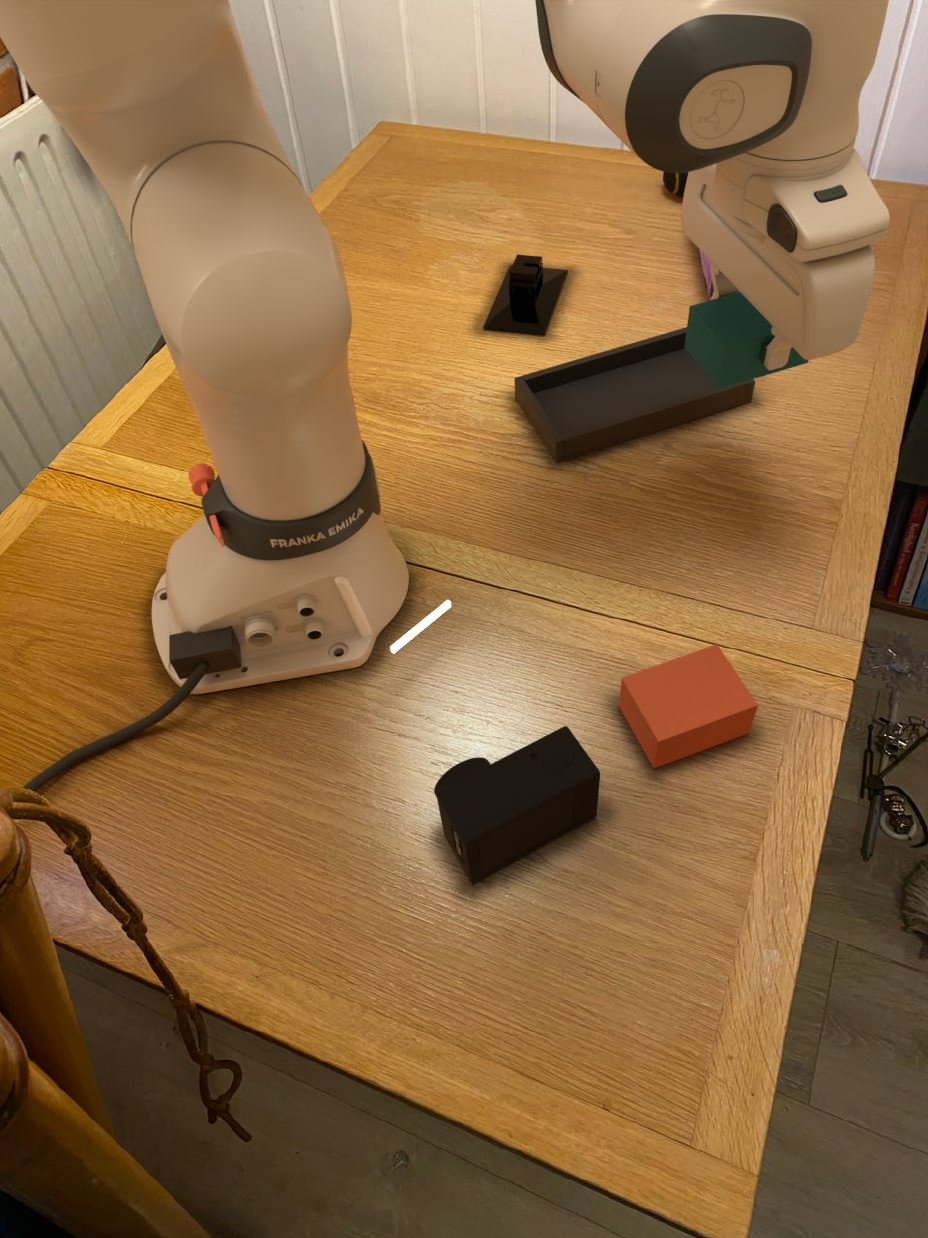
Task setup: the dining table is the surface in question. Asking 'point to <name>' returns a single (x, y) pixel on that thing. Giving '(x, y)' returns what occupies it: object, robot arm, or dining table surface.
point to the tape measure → (675, 182)
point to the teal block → (731, 340)
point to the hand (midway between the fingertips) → (748, 337)
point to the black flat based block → (526, 298)
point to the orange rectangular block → (686, 705)
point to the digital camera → (516, 802)
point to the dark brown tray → (621, 395)
